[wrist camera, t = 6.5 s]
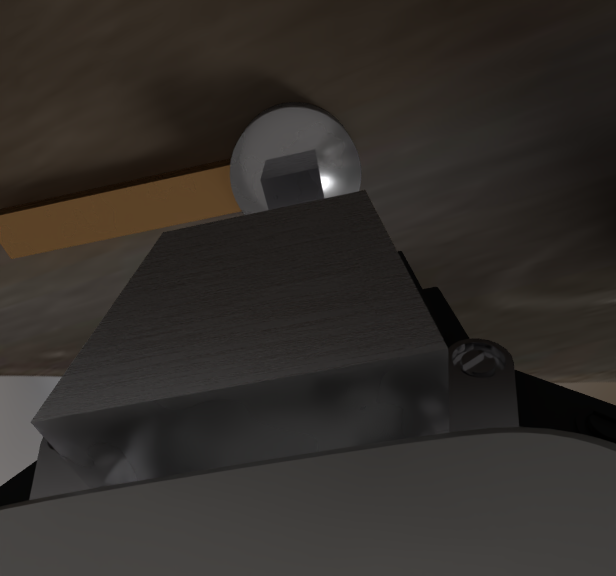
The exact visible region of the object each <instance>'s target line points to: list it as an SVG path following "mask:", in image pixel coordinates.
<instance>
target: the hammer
mask: <svg viewBox="0 0 616 576" xmlns="http://www.w3.org/2000/svg"><path fill="white" fill-rule="evenodd" d="M360 184H361V164H360V159H359V155H358V152H357V149H356V147H355V145H354V143H353V141H352V139H351V138H350V136H349V134H348V133H347V131H346V130H345V128H344V127H343V125H342V124H341V123H340V122H339V121H338V120H337V119H336V118H335V117H334V116H333V115H331V114H330V113H329V112H327V111H325V110H324V109H322V108H320V107H317V106H315V105H311V104H308V103H301V102H289V103H282V104H279V105H275V106H273V107H271V108H268V109H266V110H265V111H263V112H262V113H260V114H259V115H258V116H256V117H255V118H254V119H253V120H252V121H251V122H250V123H249V125H248V126H247V127H246V129H245V130H244V132H243V134H242V135H241V137H240V139H239V140H238V142H237V144H236V146H235V148H234V151H233V154H232V158H231V159H227V160H222V161H218V162H213V163H209V164H204V165H200V166H195V167H191V168H186V169H181V170H177V171H172V172H168V173H163V174H159V175H154V176H150V177H145V178H141V179H136V180H131V181H127V182H122V183H118V184H113V185H109V186H104V187H100V188H95V189H91V190H86V191H81V192H77V193H72V194H68V195H63V196H59V197H54V198H50V199H45V200H41V201H36V202H32V203H27V204H22V205H18V206H13V207H9V208H4V209H0V244H1V245H2V246H3V248H4V249H5V251H6V252H7V254H8V255H9V256H10V258H11V259H13V258H18V257H23V256H28V255H33V254H38V253H42V252H47V251H52V250H57V249H62V248H66V247H71V246H76V245H81V244H86V243H91V242H95V241H100V240H105V239H110V238H115V237H119V236H124V235H129V234H134V233H139V232H144V231H148V230H153V229H158V228H163V227H168V226H172V225H177V224H182V223H187V222H192V221H197V220H201V219H206V218H211V217H216V216H221V215H226V214H230V213H235V212H240V211H242V212H243V213H244V215H248V214H253V213H257V212H262V211H267V210H272V209H276V208H281V207H286V206H291V205H295V204H300V203H305V202H310V201H315V200H319V199H324V198H329V197H334V196H338V195H343V194H348V193H353V192H357V191H359V189H360Z"/></svg>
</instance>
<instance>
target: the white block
mask: <svg viewBox="0 0 616 576" xmlns="http://www.w3.org/2000/svg"><path fill="white" fill-rule="evenodd" d="M31 423H32V424H33V425H34V426H35V427H36V429H37V430H38V431H39V432H40V433H41V434H42V435H43V437H44V438H45V439H46V440H47V441H48V442H49V443H50V444H51V446H52V447H53V448H54V449H55V450H56V451H57V452H58V453H59V454H60V456H61V457H62V458H63V459H64V460H65V461H66V462H67V463H68V465H69V466H70V467H71V468H72V469H73V470H74V471H75V472H76V473H77V475H78V476H79V477H80V478H81V479H82V480H83V481H84V482H85V484H86V485H87V486H88V487H93V486H99V485H100V486H101V487H104V486H110V485H116V484H122V483H128V482H134V481H140V480H146V479H152V478H158V477H164V476H170V475H176V474H182V473H188V472H194V471H200V470H206V469H213V468H219V467H225V466H231V465H237V464H244V463H250V462H256V461H263V460H269V459H275V458H281V457H288V456H294V455H300V454H307V453H313V452H320V451H326V450H333V449H339V448H346V447H352V446H358V445H365V444H371V443H378V442H384V441H391V440H398V439H405V438H412V437H419V436H427V435H434V434H436V431H442V430H448V429H449V377H448V347H447V345H446V344H445V342H444V340H443V338H442V336H441V334H440V332H439V330H438V328H437V326H436V324H435V323H434V321H433V319H432V317H431V315H430V313H429V311H428V309H427V307H426V305H425V303H424V301H423V300H422V298H421V296H420V294H419V292H418V290H417V288H416V286H415V284H414V282H413V280H412V279H411V277H410V275H409V273H408V271H407V269H406V267H405V265H404V263H403V261H402V259H401V257H400V256H399V254H398V252H397V250H396V248H395V246H394V244H393V242H392V240H391V238H390V236H389V235H388V233H387V231H386V229H385V227H384V225H383V223H382V221H381V219H380V217H379V215H378V213H377V212H376V210H375V208H374V206H373V204H372V202H371V200H370V198H369V196H368V194H367V192H366V191H365V190H362V191H357V192H353V193H348V194H343V195H338V196H334V197H329V198H324V199H319V200H315V201H310V202H305V203H300V204H295V205H291V206H286V207H281V208H276V209H272V210H267V211H262V212H257V213H253V214H248V215H243V216H238V217H234V218H229V219H224V220H219V221H215V222H210V223H205V224H200V225H196V226H191V227H186V228H181V229H176V230H172V231H167V232H163V233H162V234H161V236H160V237H159V239H158V240H157V242H156V243H155V244H154V246H153V247H152V249H151V250H150V252H149V253H148V255H147V256H146V257H145V259H144V260H143V262H142V263H141V265H140V266H139V267H138V269H137V270H136V272H135V273H134V275H133V276H132V277H131V279H130V280H129V282H128V283H127V285H126V286H125V288H124V289H123V290H122V292H121V293H120V295H119V296H118V298H117V299H116V300H115V302H114V303H113V305H112V306H111V308H110V309H109V310H108V312H107V313H106V315H105V316H104V318H103V319H102V320H101V322H100V323H99V325H98V326H97V328H96V329H95V331H94V332H93V333H92V335H91V336H90V338H89V339H88V341H87V342H86V343H85V345H84V346H83V348H82V349H81V351H80V352H79V353H78V355H77V356H76V358H75V359H74V361H73V362H72V363H71V365H70V366H69V368H68V369H67V371H66V372H65V374H64V375H63V376H62V378H61V379H60V381H59V382H58V384H57V385H56V386H55V388H54V390H53V391H52V392H51V394H50V395H49V396H48V398H47V400H46V401H45V402H44V404H43V405H42V407H41V408H40V409H39V411H38V412H37V414H36V415H35V417H34V418H33V420H32V421H31Z"/></svg>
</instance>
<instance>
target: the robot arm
mask: <svg viewBox="0 0 616 576" xmlns="http://www.w3.org/2000/svg"><path fill="white" fill-rule="evenodd" d="M398 254H399V256H400V257H401V259H402V261H403V263H404V265H405V267H406V269H407V271H408V273H409V275H410V277H411V279H412V280H413V282H414V284H415V286H416V288H417V290H418V292H419V294H420V296H421V298H422V300H423V301H424V303H425V305H426V307H427V309H428V311H429V313H430V315H431V317H432V319H433V321H434V323H435V324H436V326H437V328H438V330H439V332H440V334H441V336H442V338H443V340H444V342H445V344H446V345H447V347H448V377H449V429H448V430H442V431H436V434H434V435H427V436H419V437H412V438H405V439H398V440H391V441H384V442H378V443H371V444H365V445H358V446H352V447H346V448H339V449H333V450H326V451H320V452H313V453H307V454H300V455H294V456H288V457H281V458H275V459H269V460H263V461H256V462H250V463H244V464H237V465H231V466H225V467H219V468H213V469H206V470H200V471H194V472H188V473H182V474H176V475H170V476H164V477H158V478H152V479H146V480H140V481H134V482H128V483H122V484H116V485H110V486H104V487H101V486H100V485H99V486H93V487H88V486H87V485H86V484H85V482H84V481H83V480H82V479H81V478H80V477H79V476H78V475H77V473H76V472H75V471H74V470H73V469H72V468H71V467H70V466H69V465H68V463H67V462H66V461H65V460H64V459H63V458H62V457H61V456H60V454H59V453H58V452H57V451H56V450H55V449H54V448H53V447H52V446H51V444H50V443H49V442H48V441H47V440H46V439H45V438H44V437H43V439H42V441H41V444H40V450H39V454H38V460H37V461H35V462H34V463H32V464H31V465H30V466H28V467H27V468H26V469H24V470H23V471H21V472H20V473H18V474H17V475H16V476H14V477H13V478H12V479H10V480H9V481H7V482H6V483H5V484H3V485H2V486H0V576H616V405H613V404H610V403H607V402H604V401H602V400H599V399H596V398H593V397H590V396H588V395H585V394H582V393H579V392H576V391H573V390H570V389H567V388H565V387H562V386H559V385H556V384H554V383H551V382H548V381H545V380H542V379H540V378H537V377H534V376H531V375H528V374H525V373H523V372H520V371H517V370H515V369H514V361H513V358H512V355H511V354H510V353H509V352H508V351H507V349H505V348H504V347H502V346H501V345H499V344H498V343H495V342H492V341H490V340H485V339H479V338H471V339H469V337H468V335H467V334H466V332H465V330H464V329H463V327H462V326H461V324H460V322H459V321H458V319H457V317H456V316H455V314H454V313H453V311H452V309H451V308H450V306H449V304H448V303H447V301H446V300H445V298H444V296H443V295H442V293H441V291H440V290H439V289H438V287H432V288H427V289H422V287H421V286H420V284H419V282H418V280H417V278H416V276H415V275H414V273H413V271H412V269H411V267H410V265H409V264H408V262H407V260H406V258H405V256H404V254H403V253H402V251H398Z"/></svg>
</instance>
